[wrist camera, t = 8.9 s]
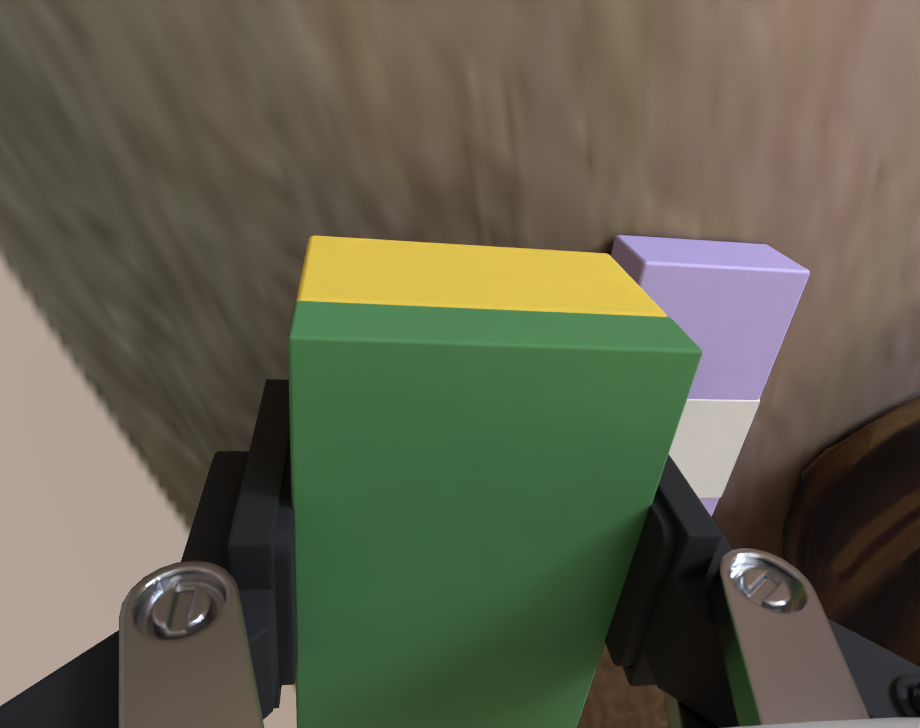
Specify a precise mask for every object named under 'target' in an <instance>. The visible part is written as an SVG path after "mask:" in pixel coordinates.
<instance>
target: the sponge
mask: <svg viewBox="0 0 920 728" xmlns="http://www.w3.org/2000/svg"><path fill="white" fill-rule="evenodd" d="M701 356H702V350H701V349H700V348H699V346H698V345H697V344H696V343H695V342H694V341H693V340H692V339H691V338H690V337H689V336H688V335H687V334H686V333H685V332H684V331H683V330H682V329H681V328H680V327H679V326H678V325H677V323H676V322H675V321H674V320H673V319H672V318H670V317H667V315H666V314H665V313H664V311H663V310H662V309H661V308H660V307H659V306H658V305H657V304H656V303H655V302H654V301H653V300H652V299H651V298H650V297H649V296H648V295H647V294H646V293H645V292H644V290H643V289H642V288H641V287H640V286H639V285H638V284H637V283H636V282H635V281H634V280H633V279H632V278H631V277H630V276H629V275H628V274H627V273H626V272H625V271H624V269H623V268H622V267H621V266H620V265H619V264H618V263H617V262H616V261H615V260H614V259H613V258H612V257H611V256H610V255H609V254H606V253H590V252H573V251H557V250H541V249H525V248H508V247H492V246H476V245H459V244H443V243H427V242H410V241H394V240H378V239H362V238H345V237H329V236H311V237H310V238H309V240H308V245H307V249H306V254H305V259H304V264H303V269H302V274H301V279H300V284H299V289H298V294H297V299H296V303H295V306H294V311H293V316H292V320H291V325H290V330H289V335H288V367H289V410H290V452H291V495H292V508H294V509H295V554H296V602H297V651H298V657H297V668H296V706H297V728H577V725H578V722H579V719H580V716H581V713H582V710H583V707H584V704H585V701H586V698H587V695H588V692H589V689H590V686H591V683H592V680H593V678H594V675H595V672H596V669H597V666H598V663H599V660H600V657H601V654H602V651H603V648H604V645H605V639H606V636H607V633H608V630H609V627H610V624H611V621H612V618H613V615H614V612H615V609H616V606H617V603H618V600H619V597H620V594H621V591H622V588H623V585H624V582H625V579H626V576H627V573H628V570H629V567H630V564H631V561H632V558H633V555H634V552H635V549H636V546H637V543H638V540H639V537H640V534H641V531H642V528H643V525H644V522H645V519H646V516H647V513H648V510H649V507H650V505H652V502H653V499H654V496H655V493H656V490H657V487H658V484H659V481H660V478H661V475H662V472H663V469H664V466H665V463H666V460H667V457H668V454H669V451H670V448H671V445H672V442H673V439H674V437H675V434H676V431H677V428H678V425H679V422H680V419H681V416H682V413H683V410H684V407H685V404H686V401H687V398H688V395H689V392H690V389H691V386H692V383H693V380H694V377H695V374H696V371H697V368H698V365H699V362H700V359H701Z"/></svg>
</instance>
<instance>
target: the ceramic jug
mask: <svg viewBox="0 0 920 728" xmlns="http://www.w3.org/2000/svg"><path fill="white" fill-rule="evenodd" d="M783 554H784V560H785V561H787V562H788V563H790V564H791V565H792V566H794V567H795V568H797V569H798V570H799V571H800V572H801V573H802V574H803V575H804V576H805V577H806V578H807V579H808V580H809V582H810V583H811V585H812V587H813V588H814V590H815V591H816V594H817V596H818V598H819V601H820V603H821V605H822V608H823V610H824V612H825V615H826V617H827V618H828V619H830V620H832V621H834V622H836V623H838V624H839V625H841V626H843V627H845V628H847V629H849V630H851V631H853V632H855V633H857V634H858V635H860V636H862V637H864V638H866V639H868V640H870V641H872V642H874V643H875V644H877V645H879V646H881V647H883V648H885V649H887V650H889V651H891V652H892V653H894V654H896V655H898V656H900V657H902V658H904V659H906V660H908V661H910V662H911V663H913V664H915V665H917V666H919V667H920V397H918V398H917V399H915V400H913V401H911V402H909V403H907V404H905V405H903V406H902V407H900V408H898V409H896V410H894V411H892V412H890V413H889V414H887V415H885V416H883V417H881V418H879V419H877V420H875V421H874V422H872V423H870V424H868V425H866V426H864V427H863V428H861V429H860V430H858V431H857V432H855V433H854V434H852V435H850V436H849V437H847V438H846V439H844V440H843V441H841V442H840V443H838V444H836V445H834V446H832V447H830V448H828V449H826V450H825V451H824V452H823V453H822V454H821V455H819V456H818V457H817V458H816V459H815V460H814V461H813V462H812V463H811V464H810V465H809V466H808V467H807V468H806V469H805V470H804V471H803V472H802V473H801V479H800V484H799V487H798V489H797V492H796V494H795V497H794V499H793V502H792V506H791V510H790V514H789V518H788V521H787V523H786V524H785V526H784V528H783Z"/></svg>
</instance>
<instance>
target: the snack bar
mask: <svg viewBox="0 0 920 728" xmlns="http://www.w3.org/2000/svg"><path fill="white" fill-rule="evenodd" d="M611 257H612V258H613V259H614V260H615V261H616V262H617V263H618V264H619V265H620V266H621V267H622V268H623V269H624V271H625V272H626V273H627V274H628V275H629V276H630V277H631V278H632V279H633V280H634V281H635V282H636V283H637V284H638V285H639V286H640V287H641V288H642V289H643V290H644V292H645V293H646V294H647V295H648V296H649V297H650V298H651V299H652V300H653V301H654V302H655V303H656V304H657V305H658V306H659V307H660V308H661V309H662V310H663V311H664V313H665V314H666V315H667V317H670V318H672V319H673V320H674V321H675V322H676V323H677V325H678V326H679V327H680V328H681V329H682V330H683V331H684V332H685V333H686V334H687V335H688V336H689V337H690V338H691V339H692V340H693V341H694V342H695V343H696V344H697V345H698V346H699V348H700V349H701V350H702V356H701V359H700V362H699V365H698V368H697V371H696V374H695V377H694V380H693V383H692V386H691V389H690V392H689V395H688V398H687V401H686V404H685V407H684V410H683V413H682V416H681V419H680V422H679V425H678V428H677V431H676V434H675V437H674V439H673V442H672V445H671V448H670V451H669V455H670V457H671V458H672V459H673V461H674V462H675V464H676V465H677V466H678V468H679V469H680V471H681V472H682V474H683V475H684V477H685V478H686V480H687V481H688V483H689V484H690V486H691V487H692V489H693V490H694V492H695V493H696V495H697V496H698V498H699V499H700V501H701V502H702V504H703V505H704V507H705V508H706V510H707V511H708V513H709V514H710V516H711V517H712V514H713V512H714V509H715V507H716V505H717V502H718V500H719V498H721V497H722V494H723V492H724V489H725V487H726V484H727V482H728V479H729V477H730V474H731V472H732V469H733V467H734V465H735V462H736V460H737V457H738V455H739V452H740V450H741V447H742V445H743V442H744V440H745V437H746V435H747V433H748V430H749V428H750V425H751V423H752V420H753V418H754V415H755V413H756V410H757V408H758V405H759V403H760V399H759V398H760V396H761V393H762V391H763V388H764V386H765V383H766V381H767V378H768V376H769V373H770V371H771V368H772V366H773V364H774V361H775V359H776V356H777V354H778V351H779V349H780V346H781V344H782V341H783V339H784V336H785V334H786V331H787V329H788V326H789V324H790V321H791V319H792V317H793V314H794V312H795V309H796V307H797V304H798V302H799V299H800V297H801V294H802V292H803V289H804V287H805V284H806V282H807V279H808V277H809V274H810V272H809V270H807V269H805V268H804V267H802V266H801V265H799V264H797V263H796V262H794V261H793V260H791V259H789V258H788V257H786V256H784V255H783V254H781V253H780V252H778V251H776V250H775V249H773V248H772V247H770V246H768V245H767V244H752V243H736V242H720V241H705V240H689V239H673V238H658V237H642V236H626V235H617V236H616V237H615V240H614V244H613V248H612V253H611Z"/></svg>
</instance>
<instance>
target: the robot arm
mask: <svg viewBox="0 0 920 728" xmlns="http://www.w3.org/2000/svg"><path fill="white" fill-rule="evenodd" d="M605 643H606V646H607V648H608V651H609V654H610V656H611V659H612V661H613V663H614V664H615V665H616V666H623V669H624V671H625V674H626V676H627V679H628V681H629V684H630V686H642V685H657V687H658V688H660V689H661V690H663V691H664V692H665V706H666V713H667V720H668V727H669V728H920V667H919V666H917V665H915V664H913V663H911V662H910V661H908V660H906V659H904V658H902V657H900V656H898V655H896V654H894V653H892V652H891V651H889V650H887V649H885V648H883V647H881V646H879V645H877V644H875V643H874V642H872V641H870V640H868V639H866V638H864V637H862V636H860V635H858V634H857V633H855V632H853V631H851V630H849V629H847V628H845V627H843V626H841V625H839V624H838V623H836V622H834V621H832V620H830V619H828V618H827V617H826V615H825V612H824V610H823V608H822V605H821V603H820V601H819V598H818V596H817V594H816V591H815V590H814V588H813V587H812V585H811V583H810V582H809V580H808V579H807V578H806V577H805V576H804V575H803V574H802V573H801V572H800V571H799V570H798V569H797V568H795V567H794V566H792V565H791V564H790V563H788V562H787V561H785V560H783V559H781V558H779V557H777V556H775V555H773V554H771V553H768V552H764V551H761V550H758V549H749V548H740V549H735V550H733V549H732V547H731V546H730V544H729V543H728V541H727V540H726V538H725V537H724V535H723V534H722V532H721V531H720V529H719V528H718V526H717V525H716V523H715V522H714V520H713V519H712V517H711V516H710V514H709V513H708V511H707V510H706V508H705V507H704V505H703V504H702V502H701V501H700V499H699V498H698V496H697V495H696V493H695V492H694V490H693V489H692V487H691V486H690V484H689V483H688V481H687V480H686V478H685V477H684V475H683V474H682V472H681V471H680V469H679V468H678V466H677V465H676V464H675V462H674V461H673V459H672V458H671V457H670V455H669V454H668V457H667V460H666V463H665V466H664V469H663V472H662V475H661V478H660V481H659V484H658V487H657V490H656V493H655V496H654V499H653V502H652V505H650V507H649V510H648V513H647V516H646V519H645V522H644V525H643V528H642V531H641V534H640V537H639V540H638V543H637V546H636V549H635V552H634V555H633V558H632V561H631V564H630V567H629V570H628V573H627V576H626V579H625V582H624V585H623V588H622V591H621V594H620V597H619V600H618V603H617V606H616V609H615V612H614V615H613V618H612V621H611V624H610V627H609V630H608V633H607V636H606V639H605ZM297 657H298V651H297V602H296V554H295V509H294V508H292V495H291V452H290V410H289V380H272V379H267V380H266V383H265V387H264V392H263V396H262V400H261V404H260V408H259V413H258V417H257V421H256V425H255V430H254V434H253V438H252V442H251V446H250V451H217V452H216V453H215V455H214V458H213V460H212V464H211V467H210V470H209V473H208V476H207V480H206V483H205V486H204V489H203V493H202V496H201V499H200V502H199V505H198V509H197V512H196V515H195V518H194V521H193V525H192V528H191V531H190V534H189V537H188V541H187V544H186V547H185V550H184V553H183V557H182V560H181V562H178V563H175V564H172V565H168V566H165V567H162V568H160V569H158V570H156V571H154V572H153V573H151V574H149V575H147V576H146V577H144V578H143V579H142V580H141V581H139V582H138V583H137V584H136V585H135V586H134V587H133V588H132V589H131V590H130V592H129V593H128V595H127V596H126V598H125V600H124V601H123V603H122V607H121V611H120V616H119V630H118V631H117V632H115V633H114V634H112V635H111V636H109V637H108V638H106V639H104V640H103V641H102V642H100V643H98V644H97V645H95V646H93V647H92V648H90V649H89V650H87V651H86V652H84V653H82V654H81V655H79V656H78V657H76V658H75V659H73V660H72V661H70V662H68V663H67V664H65V665H64V666H62V667H61V668H59V669H58V670H56V671H54V672H53V673H51V674H50V675H48V676H47V677H45V678H43V679H42V680H40V681H39V682H37V683H36V684H34V685H33V686H31V687H29V688H28V689H26V690H25V691H23V692H22V693H20V694H19V695H17V696H16V697H14V698H13V699H11V700H9V701H8V702H6V703H5V704H3V705H1V706H0V728H264V724H263V719H264V718H266V717H267V716H268V715H269V714H270V713H271V712H272V711H273V708H279V704H280V695H281V686H282V685H292V684H295V678H296V668H297Z"/></svg>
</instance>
